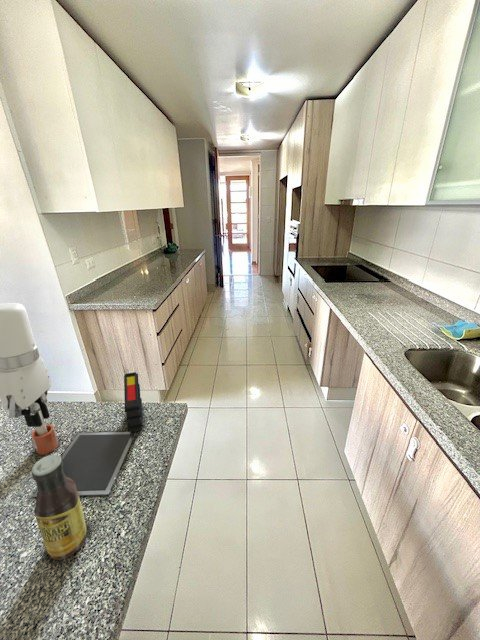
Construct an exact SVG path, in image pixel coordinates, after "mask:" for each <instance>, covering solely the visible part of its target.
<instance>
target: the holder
mask: <svg viewBox="0 0 480 640" xmlns="http://www.w3.org/2000/svg"><path fill="white" fill-rule="evenodd" d="M45 425H46V428H47V431H48V433H47V434H45V435H43V436H38V433H37V430H36V428H35V429H34V430H33V431H32V432H31V441H32V443H33V445H34V449H35V452H36V453H37V454H38V455H47V454H49V453H52V452H53V451H54V450H56V449H57V447H58V446H59V440H58V435H57V433H56V430H55V426H54V425H52V424H50V423H49V424H48V423H47V424H45Z"/></svg>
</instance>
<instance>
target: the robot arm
mask: <svg viewBox="0 0 480 640" xmlns="http://www.w3.org/2000/svg"><path fill="white" fill-rule="evenodd" d="M51 385H52V383H51V378H50V375H49V371H48V368H47V366H46V364H45V361H44V359H43V358H42V356H41V355H40V353H39V349H38V346H37V342H36V339H35V336H34V332H33V329H32V325H31V322H30V318H29V314H28V311H27V309H26V307H25V306H24V305H23V304H22V303H19V302H1V303H0V403H1V406H2V408H3V410H5V411H6V410H7V411H8V418H9V419H16V418H19V417H22V416H23V417H24V420H25V423H26V427H29V428H36V427H40V426H41V425H42V421H41V418H40V415H39V412H36V410H35V407H34V404H33V403H38V404H39V406H40V408H41V412H42V415H43V418H44V420H47V419H49V418H50V412H49V410H48V406H47V403H48V396H47V395H48V392H49V390H50V388H51Z"/></svg>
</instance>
